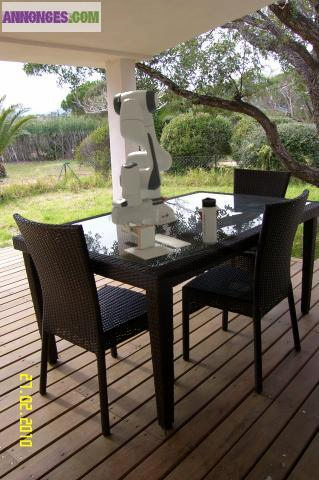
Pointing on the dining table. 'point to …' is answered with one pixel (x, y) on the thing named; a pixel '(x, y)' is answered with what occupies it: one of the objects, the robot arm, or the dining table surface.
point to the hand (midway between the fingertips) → (134, 230)
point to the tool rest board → (170, 241)
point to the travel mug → (209, 221)
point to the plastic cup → (201, 212)
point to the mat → (150, 251)
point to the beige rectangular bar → (134, 229)
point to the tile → (146, 236)
